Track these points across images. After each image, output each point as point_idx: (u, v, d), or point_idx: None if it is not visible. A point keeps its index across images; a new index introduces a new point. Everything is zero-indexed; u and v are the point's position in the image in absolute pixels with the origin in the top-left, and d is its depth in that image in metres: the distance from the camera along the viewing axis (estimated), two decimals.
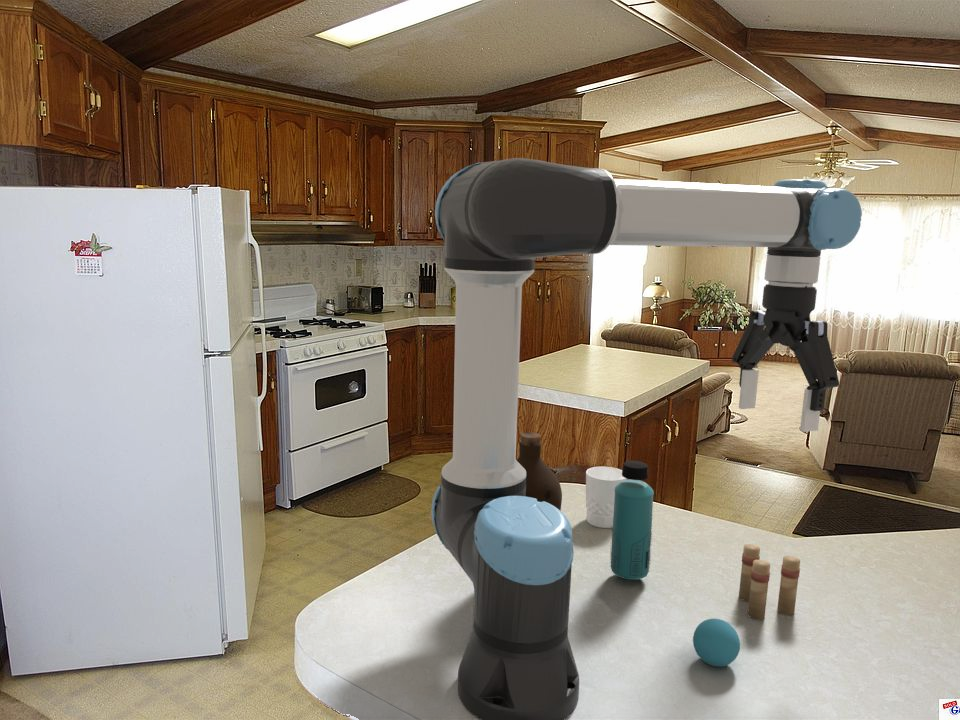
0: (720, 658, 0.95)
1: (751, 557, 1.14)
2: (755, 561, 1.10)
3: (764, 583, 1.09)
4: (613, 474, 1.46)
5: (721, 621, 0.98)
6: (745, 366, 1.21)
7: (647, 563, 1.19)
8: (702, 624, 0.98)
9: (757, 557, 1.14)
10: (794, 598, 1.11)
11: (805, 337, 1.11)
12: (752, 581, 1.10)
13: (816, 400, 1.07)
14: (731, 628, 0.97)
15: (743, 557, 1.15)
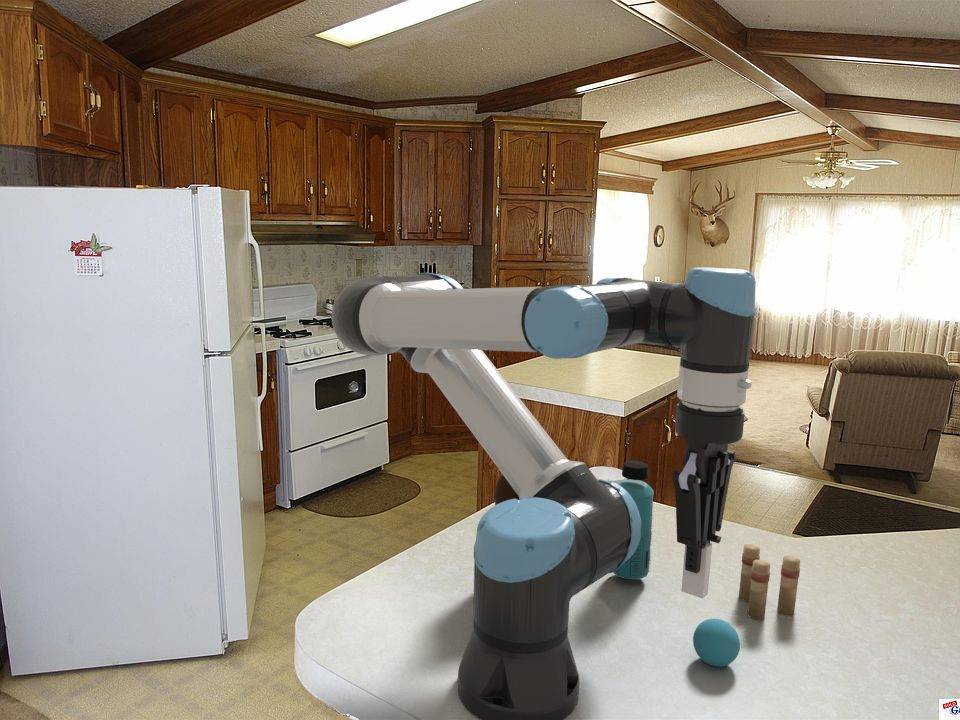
0: (720, 658, 0.95)
1: (751, 557, 1.14)
2: (755, 561, 1.10)
3: (764, 583, 1.09)
4: (613, 474, 1.46)
5: (721, 621, 0.98)
6: None
7: (647, 563, 1.19)
8: (702, 624, 0.98)
9: (757, 557, 1.14)
10: (794, 598, 1.11)
11: None
12: (752, 581, 1.10)
13: (685, 557, 0.87)
14: (731, 628, 0.97)
15: (743, 557, 1.15)
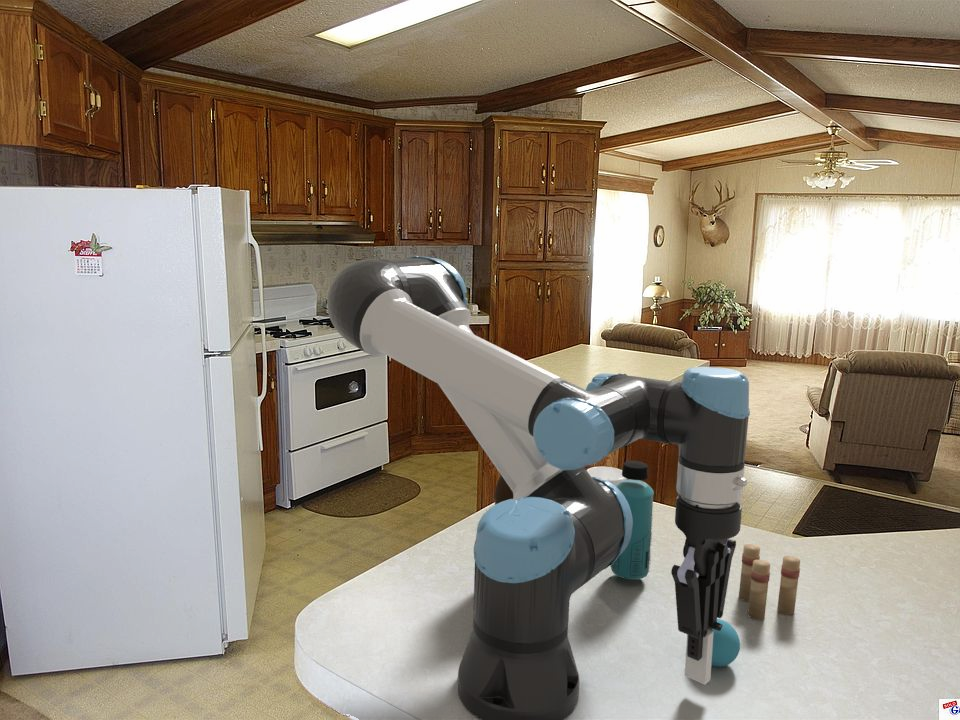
0: (720, 658, 0.95)
1: (751, 557, 1.14)
2: (755, 561, 1.10)
3: (764, 583, 1.09)
4: (613, 474, 1.46)
5: (721, 621, 0.98)
6: None
7: (647, 563, 1.19)
8: None
9: (757, 557, 1.14)
10: (794, 598, 1.11)
11: None
12: (752, 581, 1.10)
13: (687, 645, 0.90)
14: (731, 628, 0.97)
15: (743, 557, 1.15)
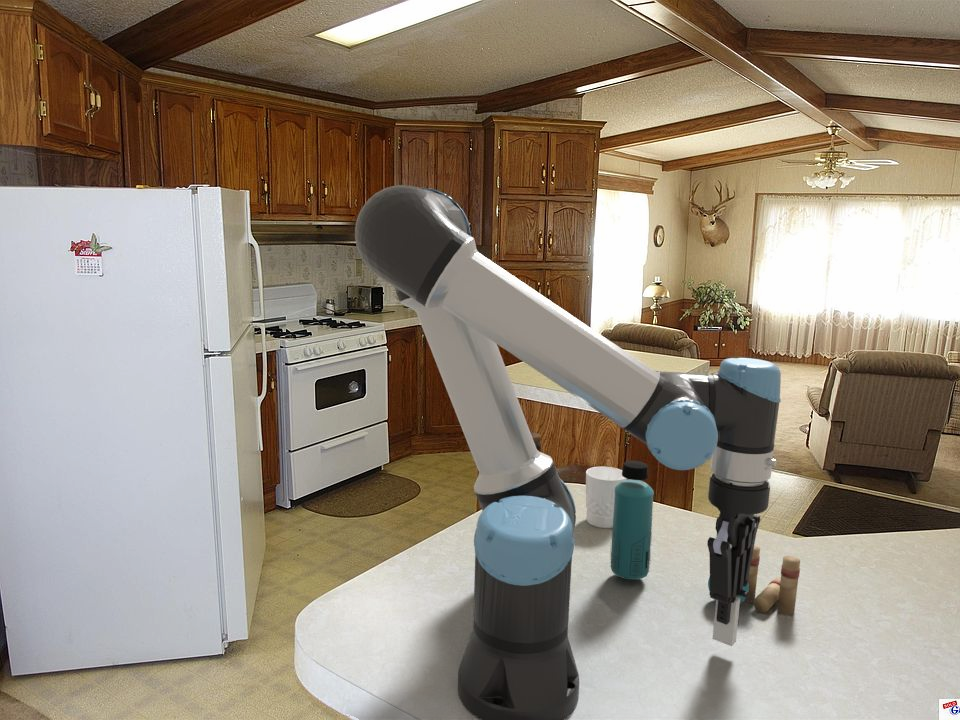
0: None
1: None
2: None
3: None
4: (613, 474, 1.46)
5: None
6: None
7: (647, 563, 1.19)
8: None
9: (757, 557, 1.14)
10: (794, 598, 1.11)
11: None
12: (770, 584, 1.16)
13: (717, 610, 0.99)
14: None
15: None
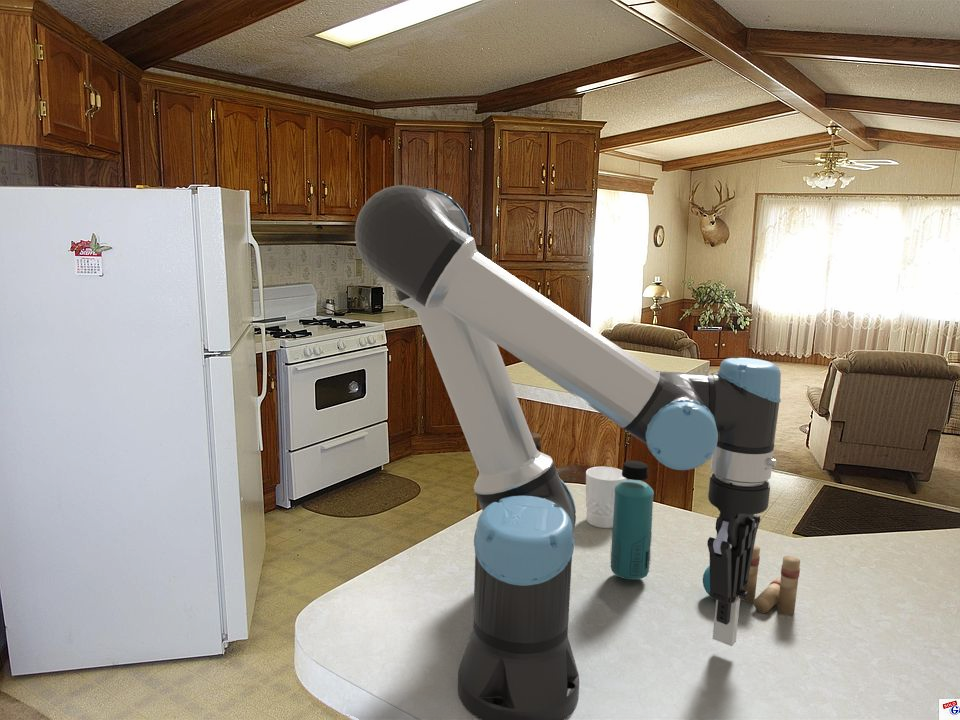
0: None
1: None
2: None
3: None
4: (613, 474, 1.46)
5: None
6: None
7: (647, 563, 1.19)
8: None
9: (757, 557, 1.14)
10: (794, 598, 1.11)
11: None
12: (771, 584, 1.16)
13: (717, 610, 0.99)
14: None
15: None
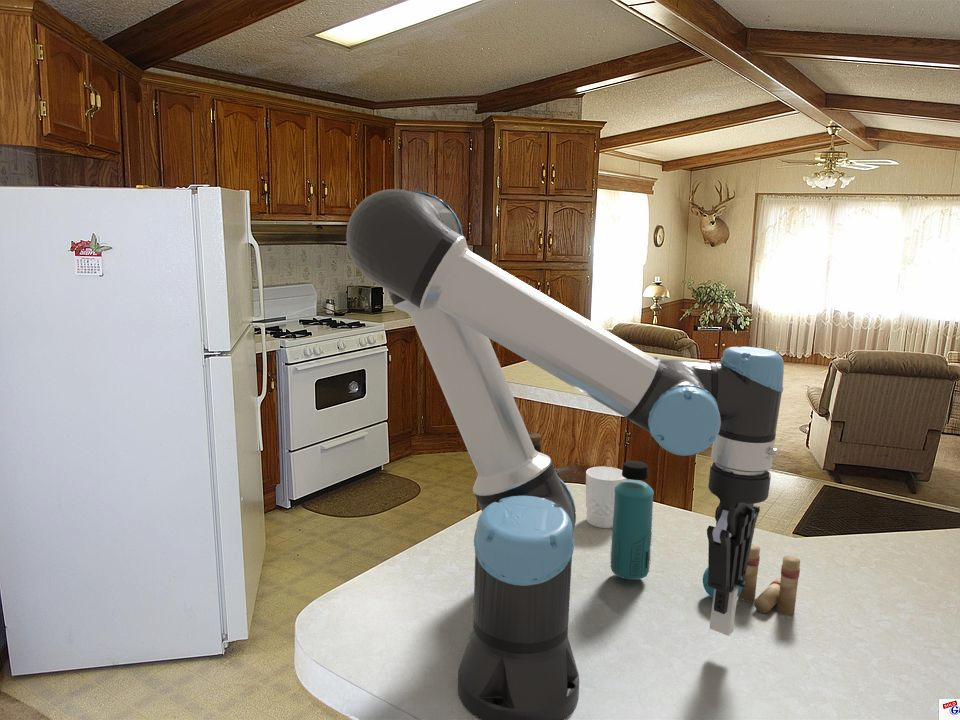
0: (740, 589, 1.13)
1: (751, 557, 1.14)
2: None
3: None
4: (613, 474, 1.46)
5: None
6: None
7: (647, 563, 1.19)
8: None
9: (757, 557, 1.14)
10: (794, 598, 1.11)
11: None
12: (772, 584, 1.16)
13: (715, 599, 0.99)
14: None
15: None
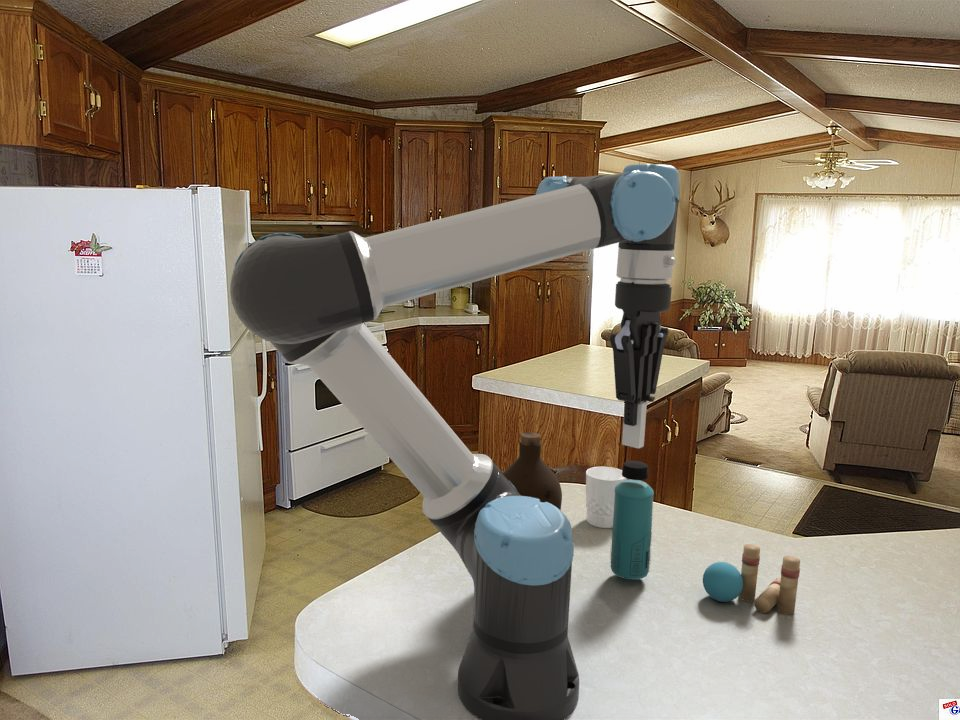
0: (740, 589, 1.13)
1: (751, 557, 1.14)
2: None
3: None
4: (613, 474, 1.46)
5: (718, 565, 1.14)
6: None
7: (647, 563, 1.19)
8: (711, 579, 1.13)
9: (757, 557, 1.14)
10: (794, 598, 1.11)
11: None
12: (772, 584, 1.16)
13: (624, 413, 1.04)
14: (727, 564, 1.14)
15: (743, 557, 1.15)
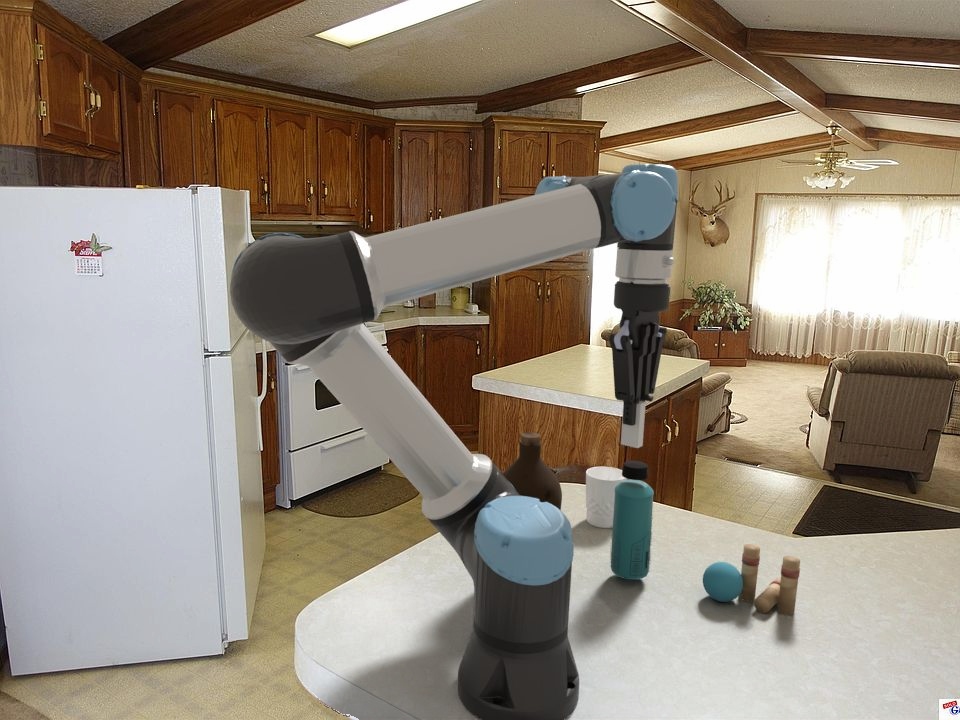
0: (740, 589, 1.13)
1: (751, 557, 1.14)
2: None
3: None
4: (613, 474, 1.46)
5: (718, 565, 1.14)
6: None
7: (647, 563, 1.19)
8: (711, 579, 1.13)
9: (757, 557, 1.14)
10: (794, 598, 1.11)
11: None
12: (772, 584, 1.16)
13: (623, 413, 1.04)
14: (727, 564, 1.14)
15: (743, 557, 1.15)
